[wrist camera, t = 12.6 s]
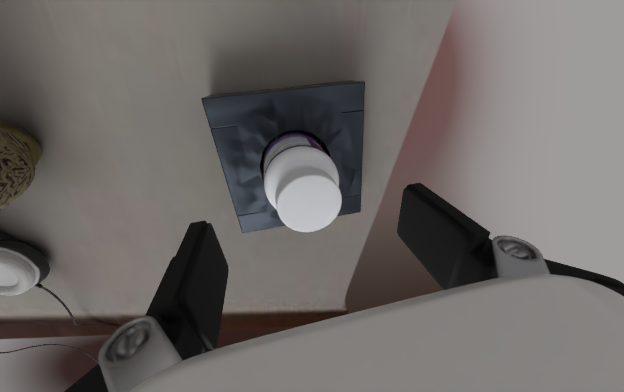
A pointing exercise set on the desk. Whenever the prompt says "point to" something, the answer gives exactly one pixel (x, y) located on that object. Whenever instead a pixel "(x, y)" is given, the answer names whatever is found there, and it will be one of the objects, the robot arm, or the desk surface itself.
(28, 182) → the green rounded lump
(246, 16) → the desk surface
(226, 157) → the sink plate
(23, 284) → the headphones
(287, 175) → the pill bottle
